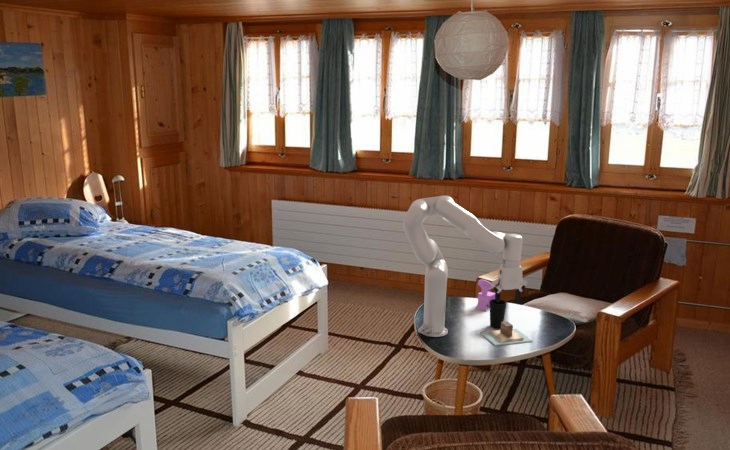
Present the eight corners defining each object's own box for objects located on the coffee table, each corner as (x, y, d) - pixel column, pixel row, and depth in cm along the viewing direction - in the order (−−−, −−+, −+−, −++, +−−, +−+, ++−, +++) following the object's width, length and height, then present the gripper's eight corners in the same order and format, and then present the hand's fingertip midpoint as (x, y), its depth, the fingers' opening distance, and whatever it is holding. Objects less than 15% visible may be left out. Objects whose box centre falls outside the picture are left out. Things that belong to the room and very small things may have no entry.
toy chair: (497, 307, 327) (499, 278, 324) (488, 311, 321) (490, 282, 317) (483, 303, 332) (484, 275, 329) (473, 307, 326) (475, 278, 323)
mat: (495, 345, 279) (495, 344, 279) (480, 333, 292) (480, 332, 292) (532, 341, 285) (532, 340, 284) (516, 330, 298) (516, 328, 298)
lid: (500, 342, 282) (501, 329, 280) (488, 332, 292) (489, 320, 291) (523, 340, 285) (524, 327, 283) (510, 330, 295) (511, 318, 294)
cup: (504, 330, 297) (506, 305, 294) (487, 328, 299) (489, 303, 296) (504, 324, 304) (506, 299, 302) (488, 322, 306) (489, 298, 303)
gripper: (497, 266, 275) (493, 304, 279) (533, 264, 280) (529, 302, 284) (489, 261, 282) (485, 298, 286) (524, 259, 287) (520, 296, 291)
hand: (507, 300), depth 285 cm, fingers open, 9 cm apart
